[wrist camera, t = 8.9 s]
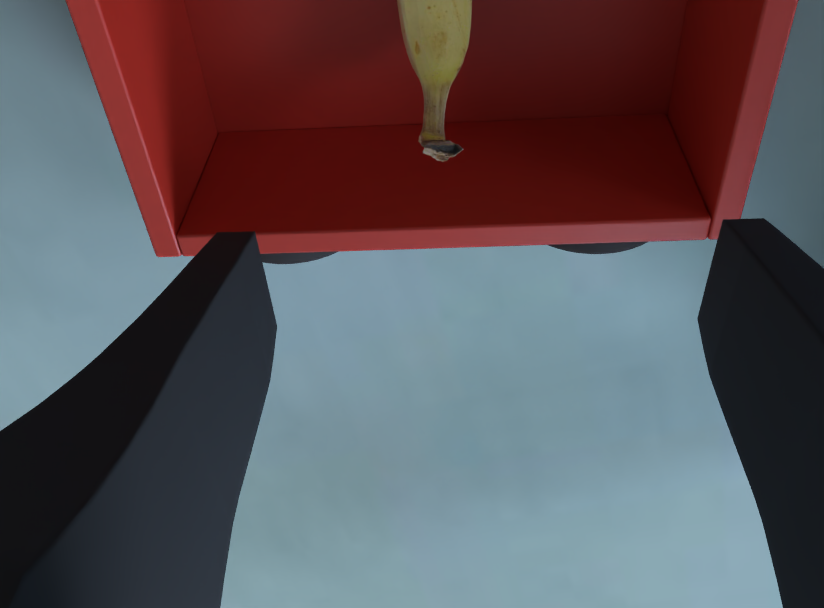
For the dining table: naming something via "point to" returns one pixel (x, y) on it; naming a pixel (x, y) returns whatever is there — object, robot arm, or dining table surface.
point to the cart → (463, 124)
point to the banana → (436, 61)
